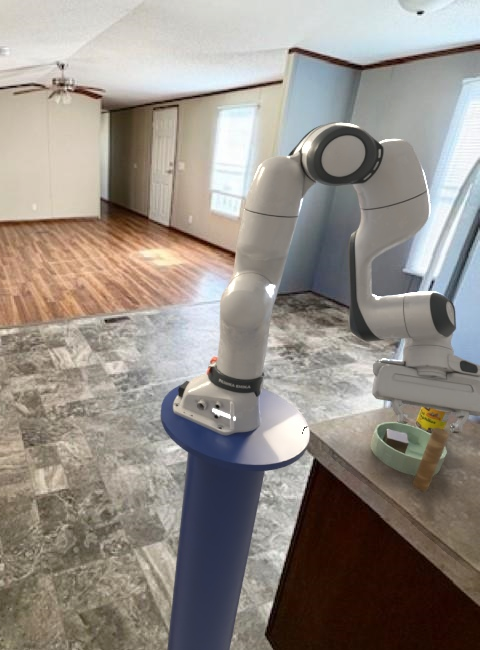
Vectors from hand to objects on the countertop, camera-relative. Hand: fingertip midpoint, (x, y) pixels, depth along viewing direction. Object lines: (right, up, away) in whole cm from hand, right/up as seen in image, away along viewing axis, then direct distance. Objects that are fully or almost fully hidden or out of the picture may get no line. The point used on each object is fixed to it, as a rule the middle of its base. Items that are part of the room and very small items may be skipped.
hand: (429, 427), depth 87 cm
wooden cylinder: (-1, -12, +1) cm, 13 cm away
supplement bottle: (+14, -5, +18) cm, 24 cm away
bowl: (+2, -9, +10) cm, 13 cm away
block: (0, -8, +11) cm, 13 cm away
